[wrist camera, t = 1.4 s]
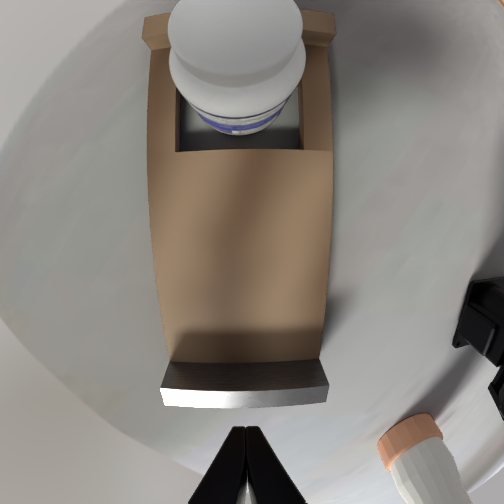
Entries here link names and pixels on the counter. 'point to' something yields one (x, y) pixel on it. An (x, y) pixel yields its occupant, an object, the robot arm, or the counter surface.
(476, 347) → the robot arm
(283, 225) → the brown long shallow piece
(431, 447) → the pepper shaker
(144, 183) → the counter surface
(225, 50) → the pill bottle
